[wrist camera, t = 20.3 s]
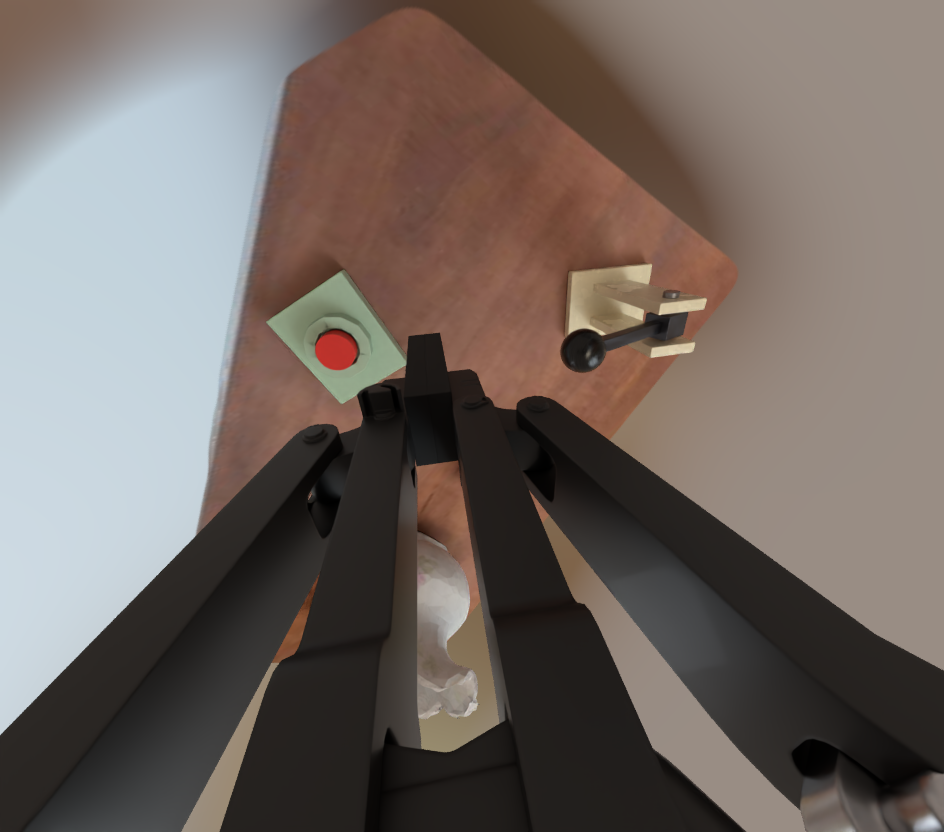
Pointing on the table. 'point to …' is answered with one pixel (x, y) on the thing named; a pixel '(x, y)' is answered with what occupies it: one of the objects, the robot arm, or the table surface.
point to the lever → (616, 340)
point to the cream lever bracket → (625, 305)
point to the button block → (347, 312)
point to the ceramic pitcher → (441, 632)
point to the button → (336, 350)
